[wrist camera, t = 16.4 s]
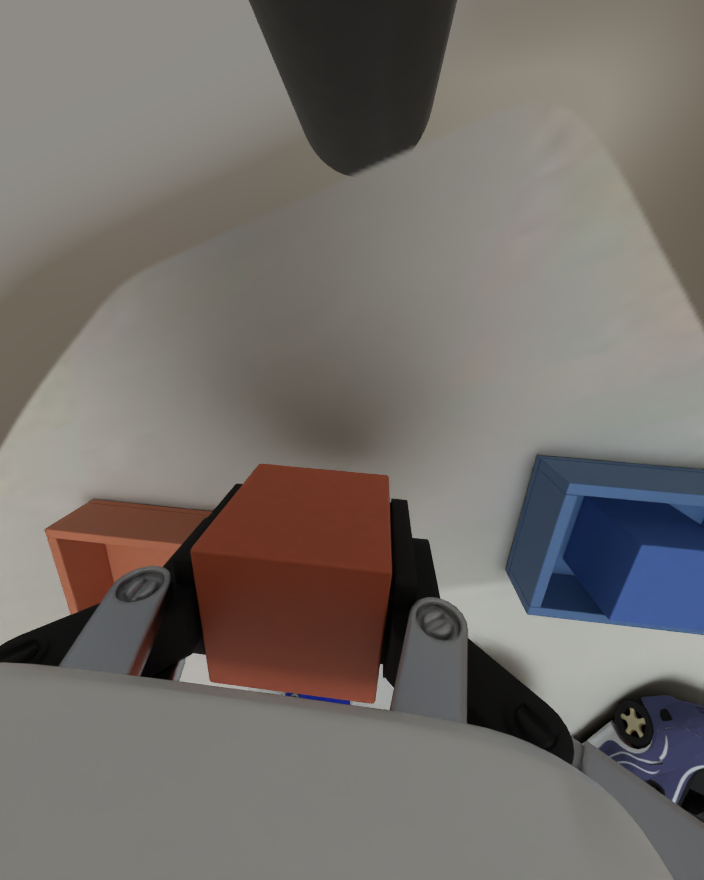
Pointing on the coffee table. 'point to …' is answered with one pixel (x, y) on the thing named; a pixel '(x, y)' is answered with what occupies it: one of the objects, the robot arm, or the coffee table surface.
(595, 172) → the coffee table surface
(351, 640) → the rust block
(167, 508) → the rust bin
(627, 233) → the coffee table surface
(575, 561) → the blue block
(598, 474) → the blue bin
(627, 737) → the toy car
